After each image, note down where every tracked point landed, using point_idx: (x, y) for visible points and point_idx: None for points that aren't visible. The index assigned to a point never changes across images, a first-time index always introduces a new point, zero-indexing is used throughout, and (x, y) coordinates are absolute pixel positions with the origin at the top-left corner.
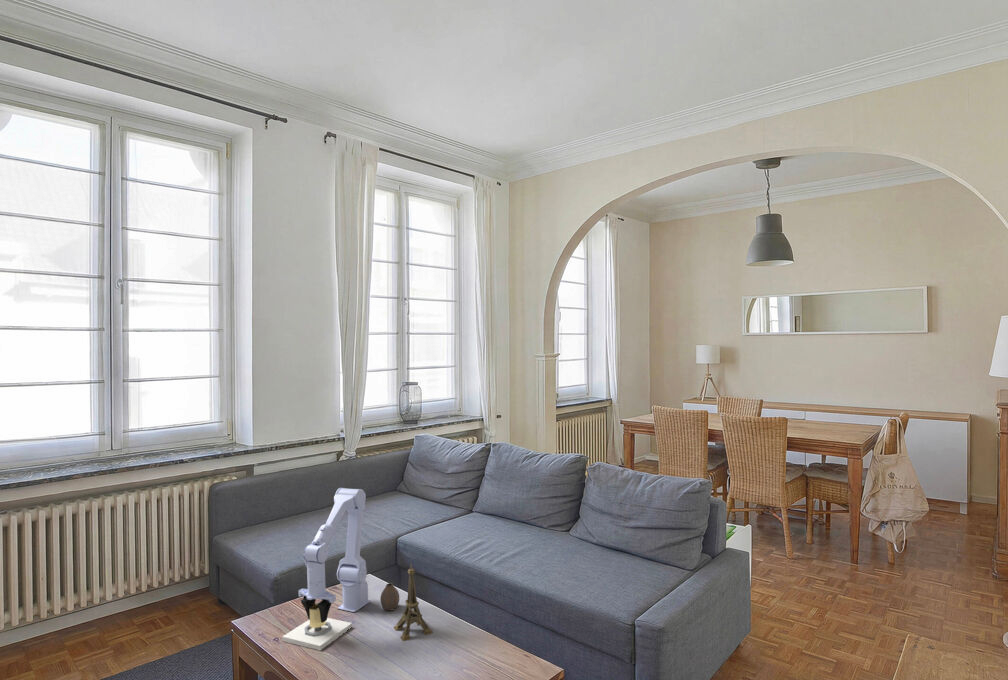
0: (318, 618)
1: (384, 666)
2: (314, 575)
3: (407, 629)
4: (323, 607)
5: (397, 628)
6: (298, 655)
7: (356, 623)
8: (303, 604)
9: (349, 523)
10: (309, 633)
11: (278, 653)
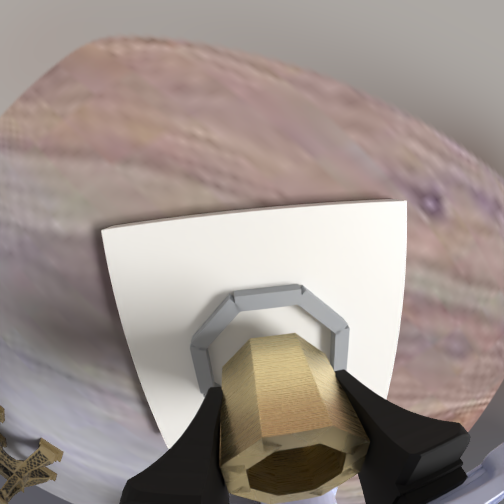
0: (234, 396)
1: None
2: None
3: None
4: (132, 478)
5: (40, 444)
6: (182, 124)
7: None
8: (426, 425)
9: None
10: (264, 293)
11: (310, 90)
